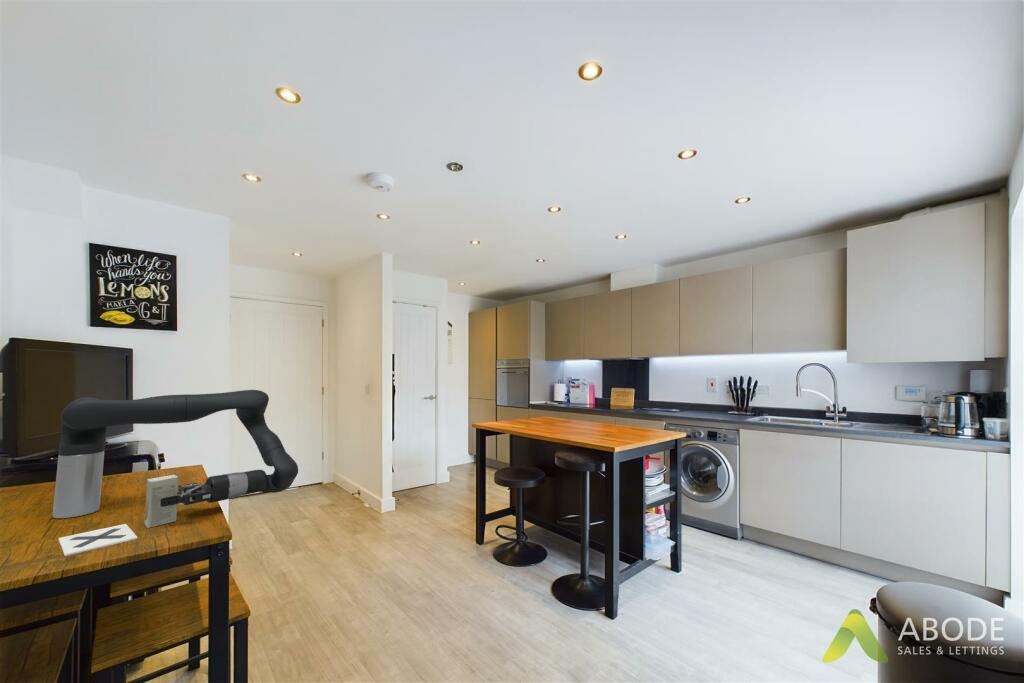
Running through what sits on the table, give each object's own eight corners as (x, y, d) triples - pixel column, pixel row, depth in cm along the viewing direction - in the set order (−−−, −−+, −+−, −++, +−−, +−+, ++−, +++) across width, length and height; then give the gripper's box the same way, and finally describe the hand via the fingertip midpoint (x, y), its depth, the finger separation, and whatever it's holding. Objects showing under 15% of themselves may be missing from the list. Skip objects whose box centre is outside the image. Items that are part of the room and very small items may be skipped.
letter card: (58, 539, 97) (58, 537, 97) (125, 525, 107) (125, 523, 107) (64, 556, 89) (65, 554, 89) (137, 538, 98) (137, 536, 98)
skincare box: (173, 518, 112) (176, 473, 113) (176, 521, 110) (180, 476, 111) (142, 524, 107) (146, 478, 108) (145, 528, 105) (149, 481, 106)
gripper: (219, 470, 126) (151, 480, 113) (236, 478, 117) (164, 490, 104) (217, 494, 125) (149, 508, 112) (234, 504, 116) (162, 519, 104)
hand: (156, 499), depth 108 cm, fingers open, 8 cm apart
